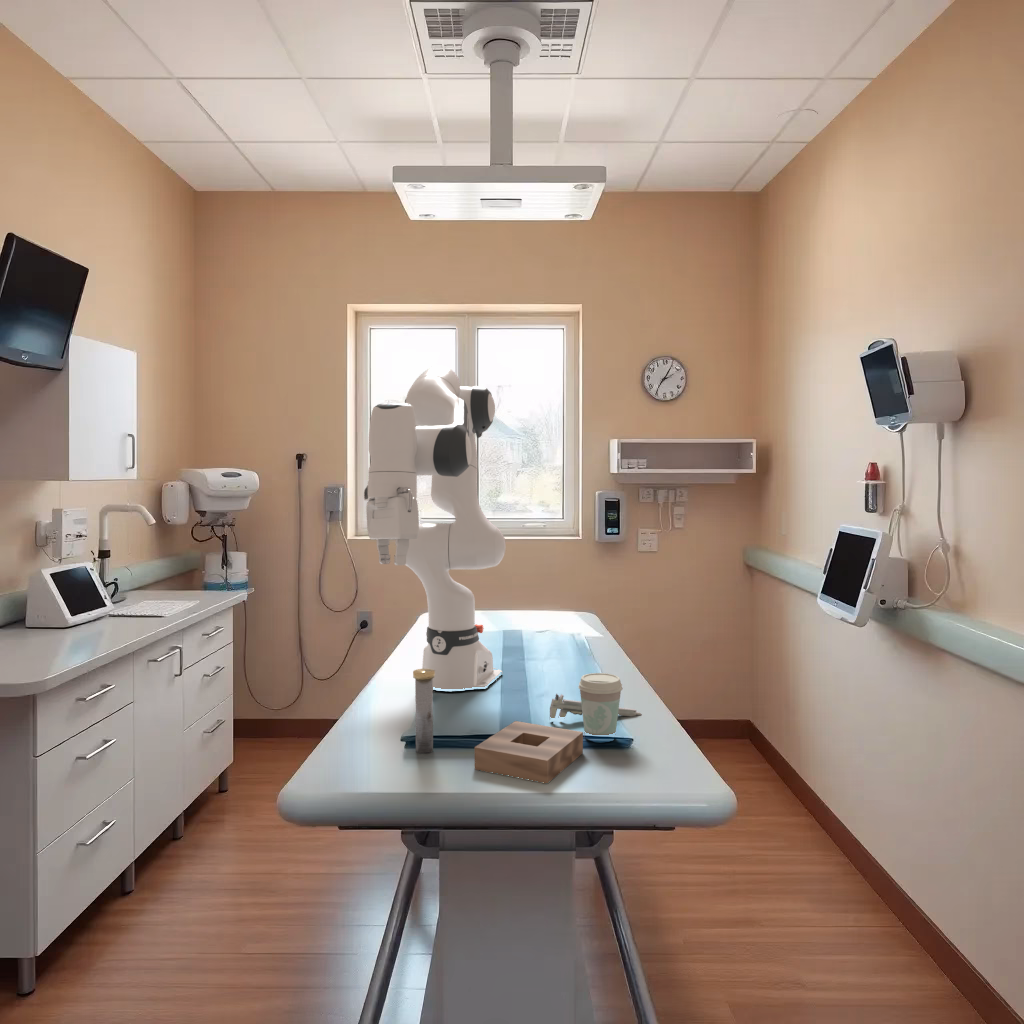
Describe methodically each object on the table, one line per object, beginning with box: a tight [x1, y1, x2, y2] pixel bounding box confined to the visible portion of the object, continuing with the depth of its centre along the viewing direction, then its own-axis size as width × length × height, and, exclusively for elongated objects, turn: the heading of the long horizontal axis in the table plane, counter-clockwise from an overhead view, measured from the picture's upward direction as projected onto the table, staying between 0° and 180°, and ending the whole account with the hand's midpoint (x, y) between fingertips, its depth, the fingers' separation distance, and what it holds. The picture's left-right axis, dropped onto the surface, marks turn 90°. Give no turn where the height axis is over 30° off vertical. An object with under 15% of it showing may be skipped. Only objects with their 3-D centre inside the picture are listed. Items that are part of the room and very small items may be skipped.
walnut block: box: [473, 720, 584, 784], centre depth 147 cm, size 16×14×4 cm
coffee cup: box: [577, 672, 624, 735], centre depth 159 cm, size 8×8×12 cm
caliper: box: [549, 693, 642, 719], centre depth 171 cm, size 20×1×6 cm, turn 107°
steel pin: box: [412, 668, 435, 754], centre depth 152 cm, size 4×4×15 cm
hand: (392, 564), depth 150 cm, fingers open, 8 cm apart
